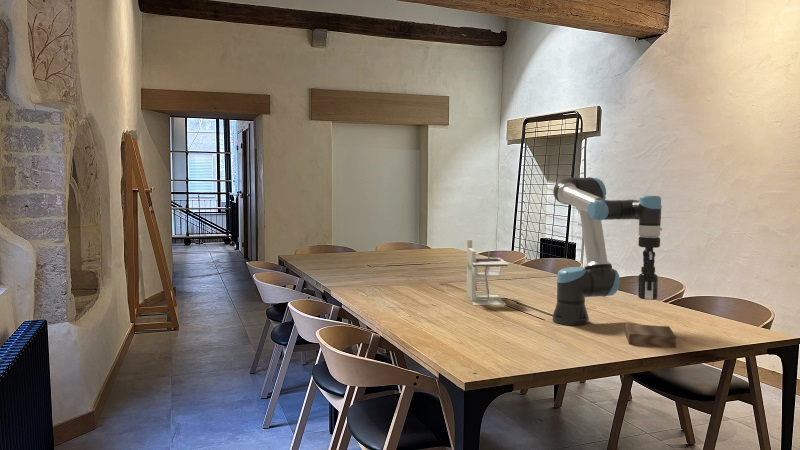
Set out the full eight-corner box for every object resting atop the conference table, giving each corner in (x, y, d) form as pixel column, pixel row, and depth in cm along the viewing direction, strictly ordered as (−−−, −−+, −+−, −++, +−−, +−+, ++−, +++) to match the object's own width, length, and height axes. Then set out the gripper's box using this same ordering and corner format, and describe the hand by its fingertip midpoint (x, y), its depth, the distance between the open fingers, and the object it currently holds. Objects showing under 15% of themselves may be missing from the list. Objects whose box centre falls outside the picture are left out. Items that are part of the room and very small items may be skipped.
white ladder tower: (510, 305, 290) (511, 245, 288) (473, 305, 290) (474, 245, 288) (500, 294, 317) (501, 239, 315) (466, 295, 317) (467, 239, 315)
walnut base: (629, 344, 219) (629, 333, 219) (625, 333, 235) (625, 323, 234) (675, 347, 215) (676, 336, 215) (668, 336, 230) (669, 326, 230)
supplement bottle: (652, 296, 226) (653, 265, 225) (660, 300, 220) (661, 268, 219) (635, 296, 226) (635, 265, 225) (642, 300, 219) (643, 268, 219)
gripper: (663, 239, 211) (661, 302, 212) (657, 234, 230) (655, 292, 231) (641, 238, 213) (639, 301, 215) (636, 234, 232) (635, 291, 233)
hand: (647, 296), depth 223 cm, fingers closed on supplement bottle, 7 cm apart
